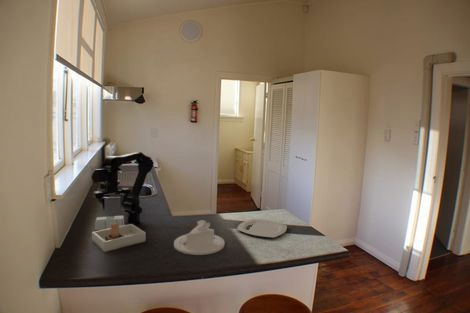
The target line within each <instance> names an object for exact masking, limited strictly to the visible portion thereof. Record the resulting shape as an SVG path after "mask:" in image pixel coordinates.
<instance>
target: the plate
mask: <svg viewBox="0 0 470 313" xmlns="http://www.w3.org/2000/svg"><path fill="white" fill-rule="evenodd" d="M252 224H253V225H252ZM248 225H252V227H250V229H249V230H246V227H247V226H248ZM287 228H288V225H287V224H283V223H281V222H277V221H273V220H268V219H259V218H251V219H246V220H244V221H243V222H240V224H238V226H237V228H236V230H237V231H238V232H241V233H244V234H247V235H250V236H255V237H260V238H261V237H263V238H271V239H273V238H274V239H275V238H277V237H279V236H282V235H283V234H285V233H286V232H287Z"/></svg>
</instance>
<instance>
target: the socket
mask: <svg viewBox="0 0 470 313" xmlns="http://www.w3.org/2000/svg"><path fill="white" fill-rule="evenodd" d="M121 237H125V236H123V235H122V234H121V233H119V237H118V238H121ZM114 239H117V238H114ZM105 240H106V241H108V240H113V239H111V234H110V235H106V236H105Z"/></svg>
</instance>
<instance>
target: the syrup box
mask: <svg viewBox="0 0 470 313" xmlns="http://www.w3.org/2000/svg"><path fill="white" fill-rule="evenodd" d="M94 222H95V224H94V225H95V226H94V228H95V231H100V230H104V229H109V228H111V224H113V223H119V226H123V225H125V216H124V214H123V215H109V216H97V217H96V218H95V221H94Z"/></svg>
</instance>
